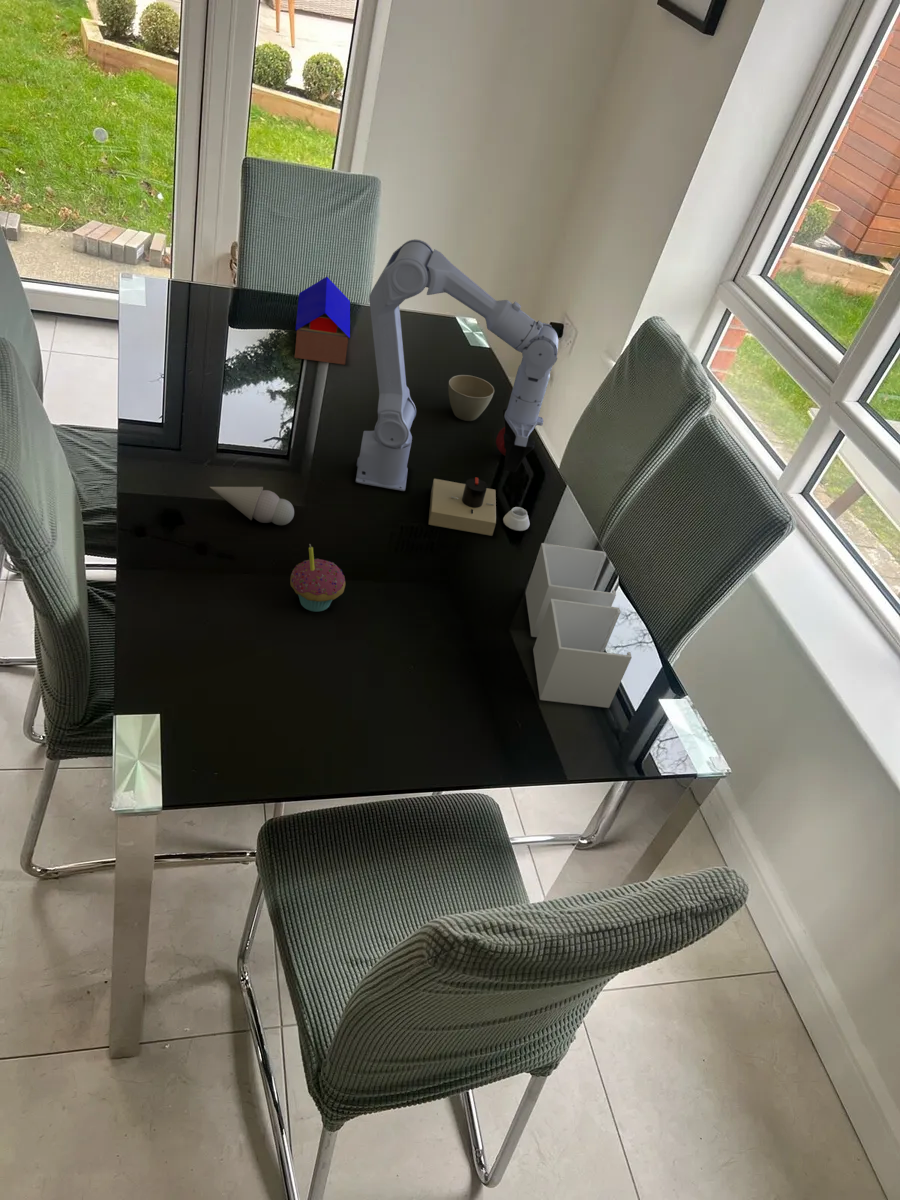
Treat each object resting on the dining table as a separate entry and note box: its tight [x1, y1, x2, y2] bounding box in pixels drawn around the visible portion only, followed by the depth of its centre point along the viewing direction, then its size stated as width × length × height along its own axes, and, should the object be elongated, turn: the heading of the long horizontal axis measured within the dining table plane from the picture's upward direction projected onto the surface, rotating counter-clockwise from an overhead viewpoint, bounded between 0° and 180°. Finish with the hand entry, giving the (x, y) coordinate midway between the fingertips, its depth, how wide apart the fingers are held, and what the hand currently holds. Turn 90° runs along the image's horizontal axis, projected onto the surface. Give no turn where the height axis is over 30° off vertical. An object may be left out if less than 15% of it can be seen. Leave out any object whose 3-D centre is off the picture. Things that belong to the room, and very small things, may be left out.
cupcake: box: [289, 543, 346, 612], centre depth 141 cm, size 9×8×12 cm
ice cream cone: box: [209, 486, 295, 526], centre depth 156 cm, size 6×6×15 cm
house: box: [294, 276, 351, 366], centre depth 209 cm, size 12×20×12 cm, turn 5°
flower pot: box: [447, 374, 495, 422], centre depth 198 cm, size 10×10×7 cm
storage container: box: [525, 542, 632, 709], centre depth 145 cm, size 25×11×11 cm, turn 2°
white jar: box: [502, 506, 531, 532], centre depth 171 cm, size 5×3×5 cm
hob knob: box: [462, 477, 488, 508], centre depth 168 cm, size 4×4×4 cm
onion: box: [495, 426, 506, 457], centre depth 188 cm, size 6×6×8 cm
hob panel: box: [427, 478, 497, 537], centre depth 171 cm, size 12×11×3 cm
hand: (509, 459), depth 170 cm, fingers open, 7 cm apart
